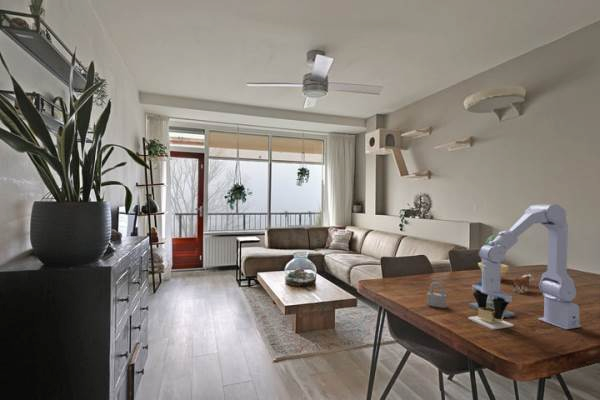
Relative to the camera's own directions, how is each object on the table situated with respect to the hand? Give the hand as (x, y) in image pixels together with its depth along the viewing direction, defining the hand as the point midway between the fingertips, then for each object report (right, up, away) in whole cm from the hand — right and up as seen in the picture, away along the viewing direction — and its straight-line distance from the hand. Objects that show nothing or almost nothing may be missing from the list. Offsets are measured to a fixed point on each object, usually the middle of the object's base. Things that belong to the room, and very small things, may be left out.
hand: (490, 315), depth 111 cm
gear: (+16, -3, +27) cm, 32 cm away
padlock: (-12, -3, +17) cm, 21 cm away
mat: (0, -3, 0) cm, 3 cm away
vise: (+9, -3, +13) cm, 16 cm away
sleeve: (0, -1, 0) cm, 1 cm away
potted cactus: (+43, -4, +66) cm, 78 cm away
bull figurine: (+42, -4, +41) cm, 59 cm away
